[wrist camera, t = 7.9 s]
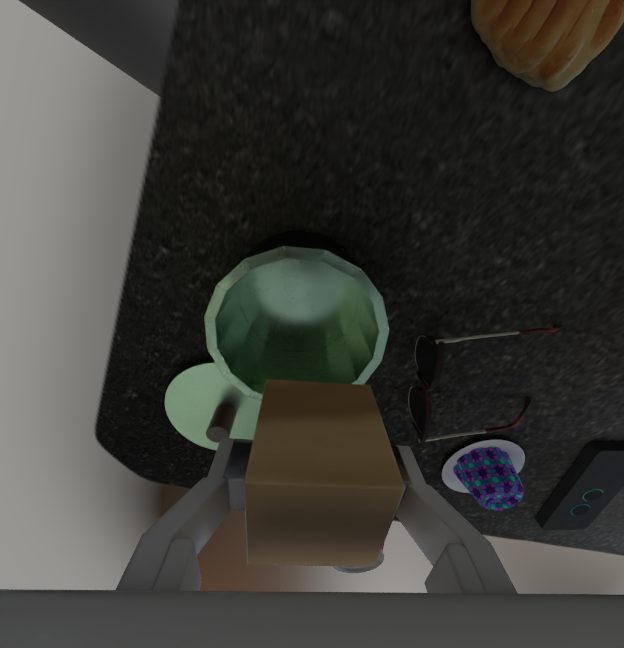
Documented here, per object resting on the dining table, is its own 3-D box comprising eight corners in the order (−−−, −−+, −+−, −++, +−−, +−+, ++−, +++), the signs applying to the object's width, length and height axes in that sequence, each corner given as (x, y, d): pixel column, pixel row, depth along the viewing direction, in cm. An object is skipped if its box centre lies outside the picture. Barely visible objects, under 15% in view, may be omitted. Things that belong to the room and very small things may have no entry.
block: (265, 378, 11) (243, 483, 7) (370, 384, 11) (406, 488, 7) (265, 450, 13) (246, 565, 9) (353, 454, 13) (374, 567, 9)
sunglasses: (416, 321, 29) (440, 344, 24) (555, 308, 30) (603, 328, 25) (404, 414, 35) (421, 446, 30) (519, 402, 36) (552, 431, 31)
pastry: (443, 56, 19) (473, 25, 16) (494, -83, 16) (544, -157, 13) (550, 101, 21) (599, 81, 17) (614, -21, 18) (689, -73, 14)
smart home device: (540, 531, 45) (600, 451, 36) (532, 519, 47) (587, 441, 38) (586, 530, 45) (656, 451, 37) (577, 519, 47) (642, 441, 38)
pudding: (434, 490, 42) (450, 527, 38) (445, 438, 37) (466, 473, 32) (509, 485, 42) (535, 521, 37) (531, 432, 37) (564, 466, 32)
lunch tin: (230, 224, 24) (196, 237, 16) (376, 238, 25) (408, 257, 17) (235, 350, 30) (212, 404, 22) (353, 358, 31) (369, 412, 23)
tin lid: (160, 352, 30) (136, 378, 26) (289, 360, 31) (286, 387, 26) (177, 442, 36) (160, 474, 32) (283, 446, 37) (280, 479, 33)
